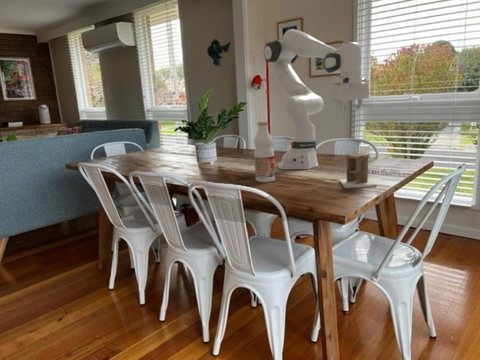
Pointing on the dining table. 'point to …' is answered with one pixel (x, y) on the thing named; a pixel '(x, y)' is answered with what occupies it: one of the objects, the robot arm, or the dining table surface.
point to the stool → (357, 167)
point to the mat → (353, 184)
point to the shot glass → (364, 149)
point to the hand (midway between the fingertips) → (350, 110)
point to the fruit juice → (264, 154)
